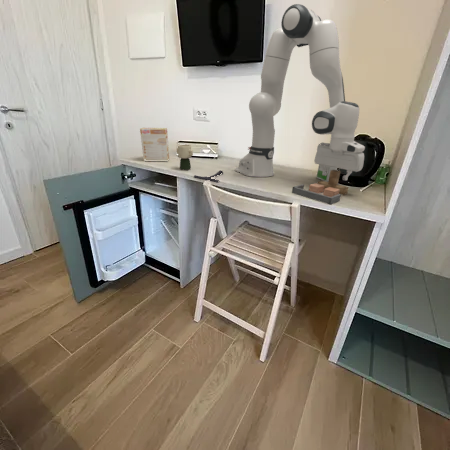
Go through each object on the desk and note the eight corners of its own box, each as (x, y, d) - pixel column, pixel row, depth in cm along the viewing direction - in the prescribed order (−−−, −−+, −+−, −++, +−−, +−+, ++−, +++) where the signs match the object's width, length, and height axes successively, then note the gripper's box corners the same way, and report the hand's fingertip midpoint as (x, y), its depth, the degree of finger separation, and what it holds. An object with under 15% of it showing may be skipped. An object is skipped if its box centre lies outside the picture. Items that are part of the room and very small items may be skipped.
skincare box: (315, 177, 135) (321, 146, 128) (326, 176, 137) (332, 146, 130) (326, 182, 128) (333, 149, 121) (337, 181, 130) (344, 149, 123)
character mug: (197, 169, 146) (196, 145, 140) (189, 172, 140) (188, 147, 135) (181, 166, 151) (180, 143, 145) (173, 169, 145) (172, 145, 140)
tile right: (323, 195, 109) (324, 189, 108) (328, 193, 112) (329, 187, 111) (333, 198, 106) (334, 191, 105) (338, 196, 109) (339, 189, 108)
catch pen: (291, 192, 112) (292, 187, 111) (301, 189, 116) (302, 184, 115) (330, 204, 100) (331, 198, 98) (339, 200, 104) (340, 194, 103)
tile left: (308, 191, 114) (309, 184, 113) (314, 189, 117) (315, 183, 116) (317, 194, 111) (318, 187, 110) (323, 192, 114) (324, 185, 113)
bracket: (233, 177, 135) (233, 172, 134) (217, 183, 124) (217, 178, 122) (210, 173, 142) (210, 168, 141) (193, 179, 131) (193, 173, 129)
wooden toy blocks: (316, 187, 119) (320, 168, 116) (320, 186, 121) (323, 167, 117) (343, 195, 111) (348, 174, 107) (347, 193, 112) (352, 173, 108)
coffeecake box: (169, 159, 168) (167, 127, 160) (167, 162, 162) (165, 128, 153) (146, 159, 168) (142, 127, 159) (143, 161, 161) (139, 128, 153)
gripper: (314, 142, 113) (309, 173, 119) (362, 149, 99) (353, 184, 105) (322, 141, 116) (317, 171, 122) (369, 147, 102) (360, 181, 108)
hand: (334, 177), depth 113 cm, fingers open, 8 cm apart
